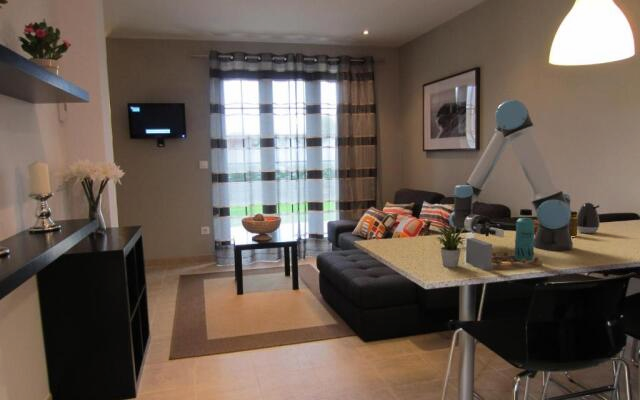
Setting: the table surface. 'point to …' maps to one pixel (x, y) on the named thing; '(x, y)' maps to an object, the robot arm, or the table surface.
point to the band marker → (503, 262)
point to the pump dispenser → (588, 218)
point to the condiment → (573, 223)
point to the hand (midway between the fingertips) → (517, 232)
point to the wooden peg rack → (512, 265)
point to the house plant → (450, 246)
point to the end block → (479, 253)
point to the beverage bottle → (524, 236)
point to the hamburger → (536, 226)
